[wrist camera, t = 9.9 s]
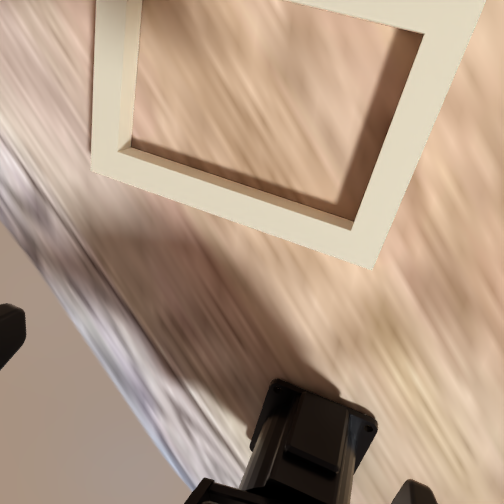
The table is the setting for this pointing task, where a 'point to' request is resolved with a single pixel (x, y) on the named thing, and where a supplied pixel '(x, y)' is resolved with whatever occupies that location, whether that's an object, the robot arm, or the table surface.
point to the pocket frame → (259, 202)
